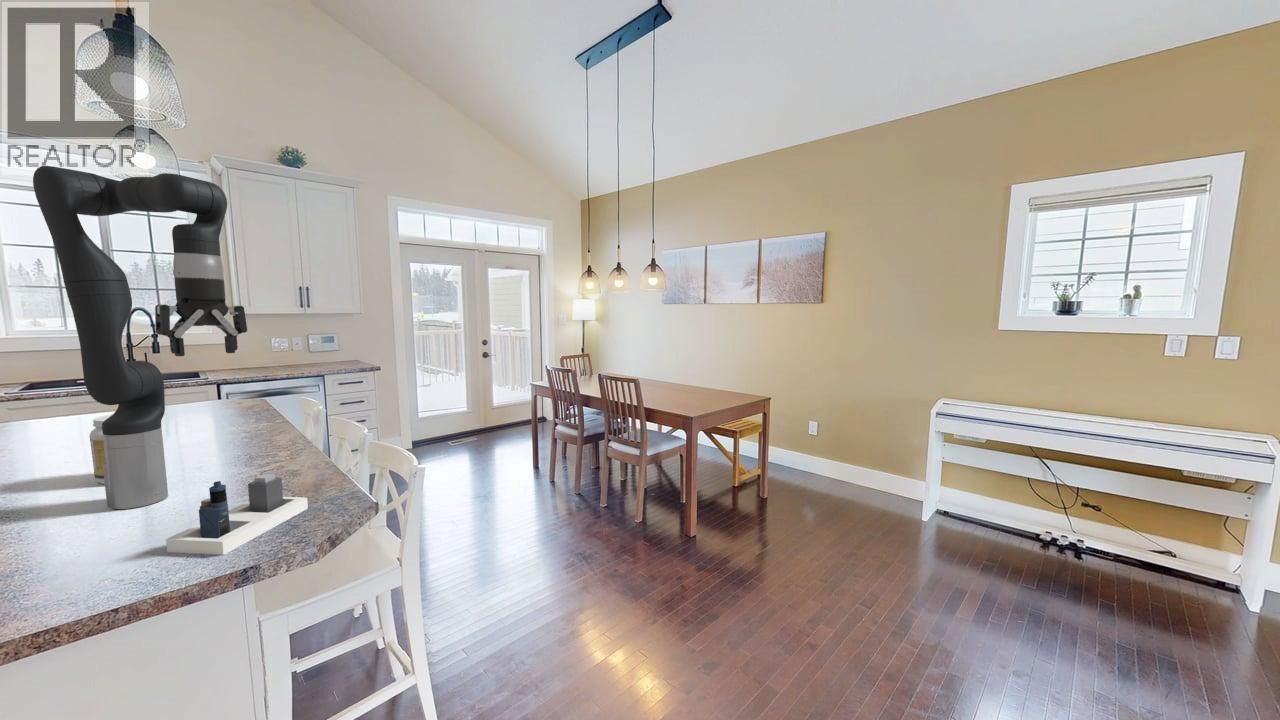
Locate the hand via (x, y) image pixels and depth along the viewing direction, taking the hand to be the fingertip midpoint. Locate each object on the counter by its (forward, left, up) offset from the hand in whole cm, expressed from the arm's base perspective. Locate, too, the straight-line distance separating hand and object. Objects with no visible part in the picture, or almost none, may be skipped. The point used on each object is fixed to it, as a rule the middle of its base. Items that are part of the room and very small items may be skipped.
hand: (206, 354), depth 97 cm
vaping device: (+11, -11, -35) cm, 39 cm away
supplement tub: (-46, +20, -36) cm, 62 cm away
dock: (+12, -6, -36) cm, 38 cm away
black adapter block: (+12, 0, -35) cm, 37 cm away
